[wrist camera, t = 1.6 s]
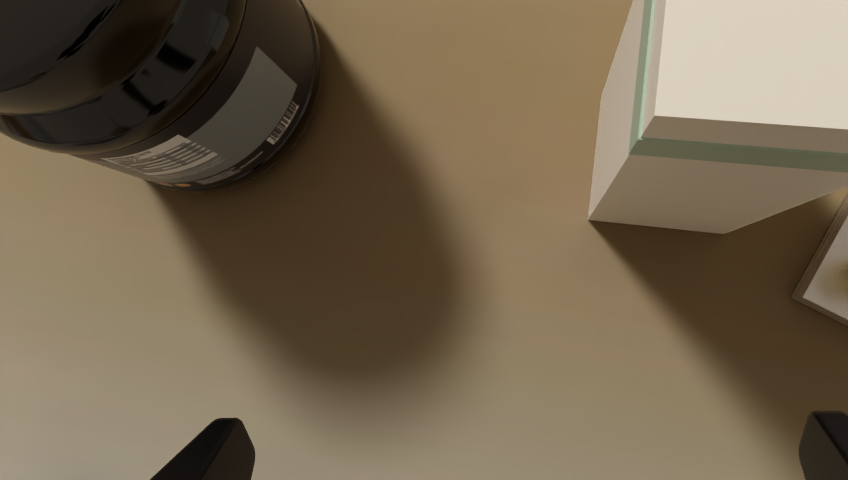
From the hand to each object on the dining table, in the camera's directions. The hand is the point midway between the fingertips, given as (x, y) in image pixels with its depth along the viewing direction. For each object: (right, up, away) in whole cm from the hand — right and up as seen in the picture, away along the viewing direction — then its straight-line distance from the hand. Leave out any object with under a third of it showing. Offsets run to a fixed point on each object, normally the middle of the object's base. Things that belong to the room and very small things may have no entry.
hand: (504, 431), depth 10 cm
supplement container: (-11, +10, +18) cm, 23 cm away
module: (+8, +6, +14) cm, 17 cm away
